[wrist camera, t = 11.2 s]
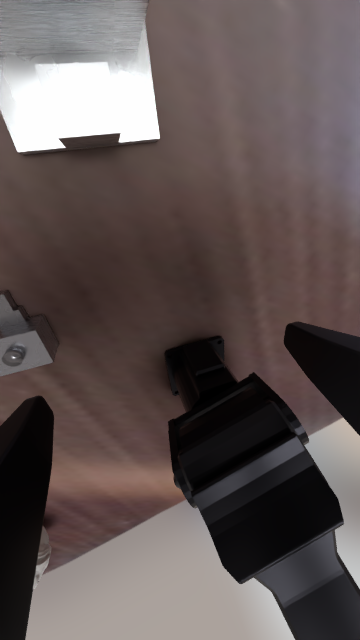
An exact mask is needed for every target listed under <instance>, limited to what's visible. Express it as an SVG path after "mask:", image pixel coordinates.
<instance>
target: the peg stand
mask: <svg viewBox="0 0 360 640" xmlns="http://www.w3.org/2000/svg"><path fill="white" fill-rule="evenodd" d="M0 110H1V112H2V115H3V117H4V120H5V122H6V125H7V127H8V130H9V132H10V135H11V137H12V140H13V142H14V145H15V147H16V149H17V152H18V153H20V154H23V155H27V154H37V153H47V152H57V151H67V150H77V149H87V148H97V147H107V146H117V145H127V144H137V143H148V142H157V141H158V140H159V139H160V136H159V128H158V120H157V112H156V105H155V97H154V89H153V81H152V74H151V66H150V58H149V50H148V42H147V35H146V27H145V21H144V26H143V30H142V34H141V39H140V43H139V48H138V51H118V52H76V53H34V54H0Z"/></svg>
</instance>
